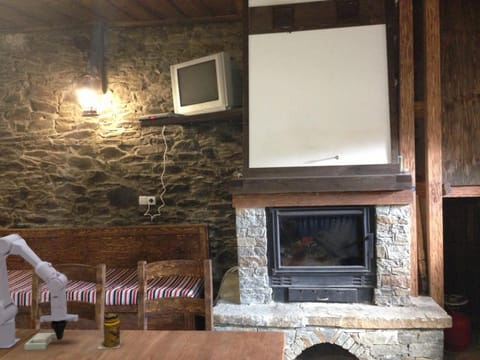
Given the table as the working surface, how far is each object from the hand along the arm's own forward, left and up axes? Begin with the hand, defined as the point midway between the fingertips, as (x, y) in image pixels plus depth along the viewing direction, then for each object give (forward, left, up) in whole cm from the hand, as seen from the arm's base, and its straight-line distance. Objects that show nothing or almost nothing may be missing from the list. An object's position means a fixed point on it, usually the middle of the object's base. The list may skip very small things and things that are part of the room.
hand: (60, 338), depth 166 cm
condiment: (+21, -3, -2) cm, 21 cm away
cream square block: (-7, 0, -2) cm, 7 cm away
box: (-7, 0, -2) cm, 7 cm away
